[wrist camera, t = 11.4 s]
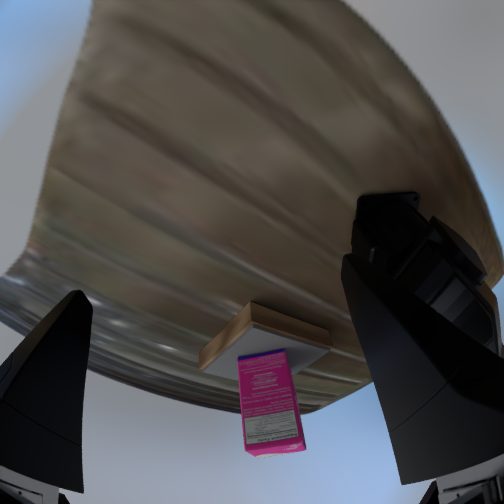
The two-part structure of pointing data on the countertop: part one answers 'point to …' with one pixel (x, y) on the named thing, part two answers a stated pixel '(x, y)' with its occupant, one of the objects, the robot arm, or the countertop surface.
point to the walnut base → (263, 341)
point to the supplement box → (269, 405)
